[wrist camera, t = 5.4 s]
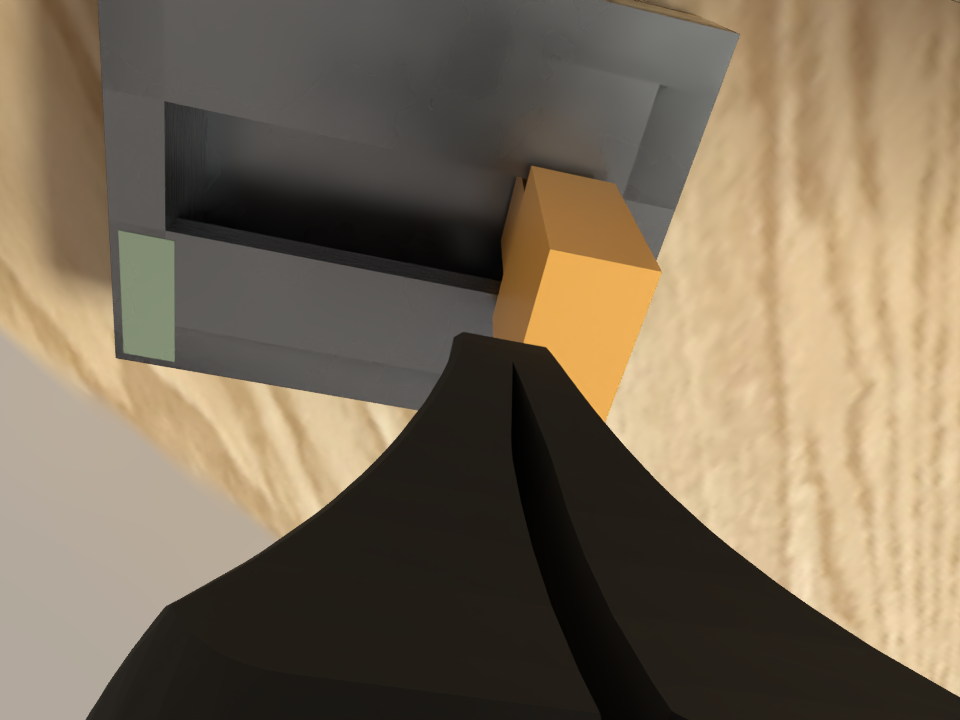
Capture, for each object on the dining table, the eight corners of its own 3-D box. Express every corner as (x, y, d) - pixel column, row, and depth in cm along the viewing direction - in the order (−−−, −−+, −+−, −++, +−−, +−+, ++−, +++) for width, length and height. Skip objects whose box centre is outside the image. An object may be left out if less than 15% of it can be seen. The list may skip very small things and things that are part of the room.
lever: (556, 280, 19) (594, 450, 13) (489, 267, 19) (497, 434, 13) (596, 147, 17) (661, 271, 11) (523, 130, 17) (550, 249, 11)
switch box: (576, 377, 22) (590, 440, 19) (161, 302, 20) (115, 358, 18) (698, 16, 17) (740, 34, 14) (156, -119, 15) (91, -126, 13)
